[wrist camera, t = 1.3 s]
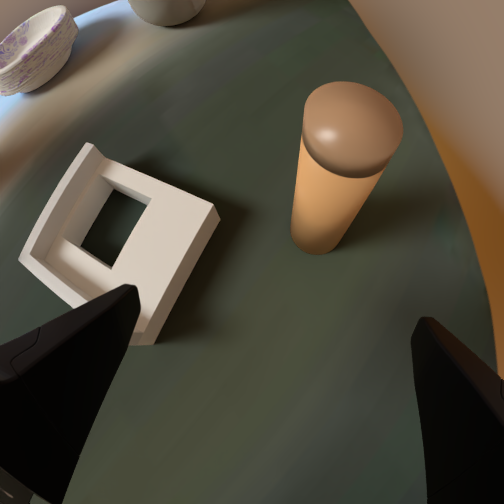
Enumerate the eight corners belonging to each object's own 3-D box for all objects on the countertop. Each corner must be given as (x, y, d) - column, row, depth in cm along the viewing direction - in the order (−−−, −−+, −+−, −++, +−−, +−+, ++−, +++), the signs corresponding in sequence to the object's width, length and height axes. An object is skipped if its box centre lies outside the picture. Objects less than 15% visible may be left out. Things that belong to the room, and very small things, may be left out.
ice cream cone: (348, 218, 24) (410, 106, 11) (329, 263, 23) (389, 176, 10) (302, 197, 25) (324, 70, 12) (281, 240, 24) (287, 132, 11)
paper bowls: (69, 88, 31) (41, 48, 24) (-4, 120, 32) (-33, 92, 24) (98, 26, 35) (80, -9, 28) (28, 56, 36) (8, 28, 28)
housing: (220, 219, 25) (207, 191, 20) (153, 344, 22) (124, 345, 18) (111, 170, 27) (86, 142, 22) (53, 273, 25) (17, 259, 20)
